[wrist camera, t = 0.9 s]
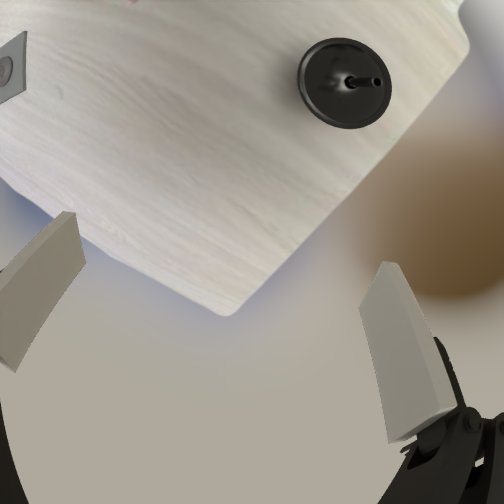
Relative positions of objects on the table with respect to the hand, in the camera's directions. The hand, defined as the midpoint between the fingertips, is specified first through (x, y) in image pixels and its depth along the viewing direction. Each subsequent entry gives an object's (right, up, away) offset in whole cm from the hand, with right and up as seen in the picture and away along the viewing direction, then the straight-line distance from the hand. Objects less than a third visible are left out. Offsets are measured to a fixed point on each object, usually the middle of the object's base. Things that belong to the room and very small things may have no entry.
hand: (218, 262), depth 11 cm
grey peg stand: (-43, +33, +13) cm, 55 cm away
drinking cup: (+9, +21, +17) cm, 29 cm away
